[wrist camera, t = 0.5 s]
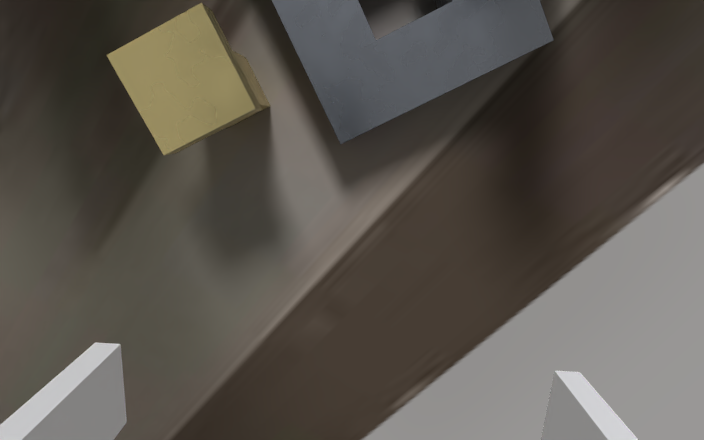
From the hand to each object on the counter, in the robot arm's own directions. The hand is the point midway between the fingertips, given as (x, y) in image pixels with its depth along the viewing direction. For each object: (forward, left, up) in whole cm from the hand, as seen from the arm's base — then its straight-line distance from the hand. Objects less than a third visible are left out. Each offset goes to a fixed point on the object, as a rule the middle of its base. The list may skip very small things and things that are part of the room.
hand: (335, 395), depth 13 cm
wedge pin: (-13, -4, -24) cm, 27 cm away
